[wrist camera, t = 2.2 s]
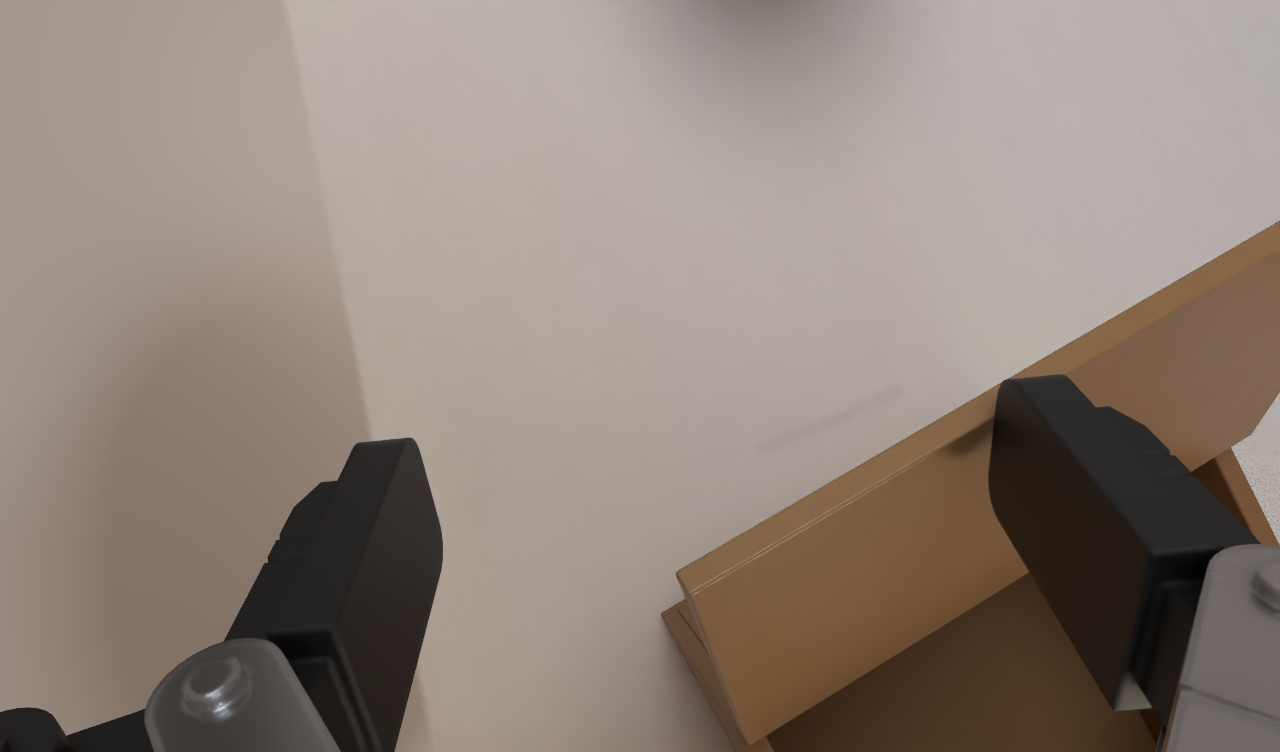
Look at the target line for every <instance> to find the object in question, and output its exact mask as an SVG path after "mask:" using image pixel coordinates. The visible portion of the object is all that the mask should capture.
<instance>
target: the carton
mask: <svg viewBox="0 0 1280 752" xmlns="http://www.w3.org/2000/svg"><path fill="white" fill-rule="evenodd" d="M1190 476H1196V478H1197V479H1198V480H1199V481H1200V482H1201V483H1202V484H1203V485H1204V486H1205V487H1206V488H1207V489H1208V490H1209V491H1210V492H1211V493H1212V494H1213V495H1214V496H1215V497H1216V498H1217V499H1218V500H1219V501H1220V502H1221V503H1222V504H1223V505H1224V506H1225V507H1226V508H1227V509H1228V510H1229V511H1230V512H1231V513H1232V514H1233V515H1234V516H1235V517H1236V518H1237V519H1238V520H1239V521H1240V522H1241V523H1242V524H1243V525H1244V526H1245V527H1246V528H1247V529H1248V530H1249V531H1250V532H1251V533H1252V534H1253V535H1254V536H1255V537H1256V539H1257V540H1258V541H1259V542H1260V543H1261V544H1266V545H1274V546H1280V545H1279V543H1278V541H1277V539H1276V537H1275V535H1274V533H1273V531H1272V529H1271V527H1270V525H1269V523H1268V521H1267V519H1266V517H1265V515H1264V513H1263V511H1262V509H1261V507H1260V505H1259V503H1258V501H1257V499H1256V497H1255V495H1254V493H1253V491H1252V489H1251V487H1250V485H1249V483H1248V481H1247V479H1246V477H1245V475H1244V473H1243V471H1242V469H1241V467H1240V465H1239V463H1238V461H1237V459H1236V457H1235V455H1234V453H1233V451H1232V449H1231V447H1230V448H1229V449H1227V450H1226V451H1224V452H1222V453H1221V454H1219V455H1217V456H1216V457H1214V458H1213V459H1211V460H1209V461H1208V462H1206V463H1205V464H1203V465H1201V466H1200V467H1198V468H1197V469H1195V470H1193V471H1192V472H1190ZM661 615H662V617H663V619H664V621H665V622H666V624H667V626H668V628H669V630H670V632H671V634H672V635H673V637H674V639H675V641H676V643H677V645H678V646H679V648H680V650H681V652H682V654H683V656H684V657H685V659H686V661H687V663H688V665H689V667H690V669H691V670H692V672H693V674H694V676H695V678H696V680H697V681H698V683H699V685H700V687H701V689H702V691H703V692H704V694H705V696H706V698H707V700H708V702H709V704H710V705H711V707H712V709H713V711H714V713H715V715H716V716H717V718H718V720H719V722H720V724H721V726H722V727H723V729H724V731H725V733H726V735H727V737H728V739H729V740H730V742H731V744H732V746H733V748H734V750H735V751H736V752H1155V750H1156V746H1157V742H1158V738H1159V735H1160V731H1161V728H1162V724H1163V723H1162V721H1161V720H1160V718H1159V717H1158V715H1157V714H1156V712H1155V711H1154V709H1153V708H1147V709H1136V710H1124V711H1113V710H1112V708H1111V707H1110V705H1109V703H1108V702H1107V700H1106V698H1105V697H1104V695H1103V693H1102V692H1101V690H1100V689H1099V687H1098V685H1097V684H1096V682H1095V680H1094V679H1093V677H1092V675H1091V674H1090V672H1089V670H1088V669H1087V667H1086V665H1085V664H1084V662H1083V660H1082V659H1081V657H1080V655H1079V654H1078V652H1077V650H1076V649H1075V647H1074V645H1073V644H1072V642H1071V640H1070V639H1069V637H1068V635H1067V634H1066V632H1065V630H1064V629H1063V627H1062V625H1061V624H1060V622H1059V621H1058V619H1057V617H1056V616H1055V614H1054V612H1053V611H1052V609H1051V607H1050V606H1049V604H1048V602H1047V601H1046V599H1045V597H1044V596H1043V594H1042V592H1041V591H1040V589H1039V587H1038V586H1037V584H1036V582H1035V581H1034V579H1033V577H1032V576H1031V574H1030V572H1029V573H1027V574H1026V575H1024V576H1022V577H1021V578H1019V579H1018V580H1016V581H1014V582H1013V583H1011V584H1010V585H1008V586H1006V587H1005V588H1003V589H1001V590H1000V591H998V592H997V593H995V594H993V595H992V596H990V597H989V598H987V599H985V600H984V601H982V602H981V603H979V604H977V605H976V606H974V607H972V608H971V609H969V610H968V611H966V612H964V613H963V614H961V615H960V616H958V617H956V618H955V619H953V620H952V621H950V622H948V623H947V624H945V625H943V626H942V627H940V628H939V629H937V630H935V631H934V632H932V633H931V634H929V635H927V636H926V637H924V638H922V639H921V640H919V641H918V642H916V643H914V644H913V645H911V646H910V647H908V648H906V649H905V650H903V651H902V652H900V653H898V654H897V655H895V656H893V657H892V658H890V659H889V660H887V661H885V662H884V663H882V664H881V665H879V666H877V667H876V668H874V669H873V670H871V671H869V672H868V673H866V674H864V675H863V676H861V677H860V678H858V679H856V680H855V681H853V682H852V683H850V684H848V685H847V686H845V687H844V688H842V689H840V690H839V691H837V692H835V693H834V694H832V695H831V696H829V697H827V698H826V699H824V700H823V701H821V702H819V703H818V704H816V705H814V706H813V707H811V708H810V709H808V710H806V711H805V712H803V713H802V714H800V715H798V716H797V717H795V718H794V719H792V720H790V721H789V722H787V723H785V724H784V725H782V726H781V727H779V728H777V729H776V730H774V731H773V732H771V733H769V734H768V735H766V736H765V737H763V738H761V739H760V740H758V741H756V742H755V743H753V744H752V745H748V744H747V742H746V740H745V738H744V737H743V735H742V733H741V731H740V729H739V727H738V725H737V722H736V720H735V717H734V715H733V712H732V710H731V708H730V705H729V703H728V700H727V698H726V695H725V693H724V690H723V688H722V686H721V683H720V681H719V678H718V676H717V673H716V671H715V669H714V666H713V664H712V661H711V659H710V656H709V654H708V652H707V649H706V647H705V644H704V642H703V639H702V637H701V635H700V632H699V630H698V627H697V625H696V622H695V620H694V618H693V615H692V613H691V610H690V608H689V605H688V603H687V601H686V599H684V600H683V601H681V602H679V603H678V604H676V605H674V606H673V607H671V608H669V609H667V610H666V611H664V612H662V614H661Z"/></svg>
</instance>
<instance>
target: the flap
mask: <svg viewBox="0 0 1280 752" xmlns="http://www.w3.org/2000/svg"><path fill="white" fill-rule="evenodd" d="M1056 374H1063V375H1065V376H1067V377H1068V378H1069V379H1070V380H1071V381H1072V382H1073V383H1074V384H1075V385H1076V386H1077V387H1078V388H1079V389H1080V390H1081V391H1082V393H1083V394H1084V395H1085V396H1086V397H1087V398H1088V399H1089V400H1090V401H1091V402H1092V403H1093V404H1094V406H1095V407H1106V406H1110V407H1111V408H1113V409H1115V410H1117V411H1119V412H1121V413H1123V414H1124V415H1126V416H1128V417H1130V418H1132V419H1134V420H1136V421H1138V422H1139V423H1141V424H1143V425H1145V426H1146V427H1147V428H1148V429H1149V430H1150V431H1151V432H1152V433H1153V434H1154V435H1155V436H1156V437H1157V438H1158V439H1159V440H1160V441H1161V442H1162V443H1163V444H1164V445H1165V446H1166V447H1167V448H1168V449H1169V450H1170V455H1171V456H1172V455H1175V456H1176V457H1177V458H1178V459H1179V460H1180V461H1181V462H1182V463H1183V464H1184V465H1185V466H1186V467H1187V468H1188V469H1189V470H1190V472H1192V471H1193V470H1195V469H1197V468H1198V467H1200V466H1201V465H1203V464H1205V463H1206V462H1208V461H1209V460H1211V459H1213V458H1214V457H1216V456H1217V455H1219V454H1221V453H1222V452H1224V451H1226V450H1227V449H1229V448H1230V447H1232V446H1234V445H1235V444H1237V443H1238V442H1240V441H1242V440H1243V439H1245V438H1247V437H1248V436H1250V435H1251V434H1252V432H1253V431H1254V429H1255V428H1256V426H1257V425H1258V423H1259V422H1260V420H1261V419H1262V418H1263V416H1264V415H1265V413H1266V412H1267V410H1268V409H1269V407H1270V406H1271V404H1272V403H1273V401H1274V400H1275V398H1276V397H1277V395H1278V394H1279V392H1280V221H1278V222H1277V223H1275V224H1273V225H1272V226H1270V227H1268V228H1266V229H1265V230H1263V231H1261V232H1259V233H1258V234H1256V235H1254V236H1253V237H1251V238H1249V239H1247V240H1246V241H1244V242H1242V243H1241V244H1239V245H1237V246H1235V247H1234V248H1232V249H1230V250H1229V251H1227V252H1225V253H1223V254H1222V255H1220V256H1218V257H1217V258H1215V259H1213V260H1211V261H1210V262H1208V263H1206V264H1205V265H1203V266H1201V267H1199V268H1198V269H1196V270H1194V271H1192V272H1191V273H1189V274H1187V275H1186V276H1184V277H1182V278H1180V279H1179V280H1177V281H1175V282H1174V283H1172V284H1170V285H1168V286H1167V287H1165V288H1163V289H1162V290H1160V291H1158V292H1156V293H1155V294H1153V295H1151V296H1150V297H1148V298H1146V299H1144V300H1143V301H1141V302H1139V303H1137V304H1136V305H1134V306H1132V307H1131V308H1129V309H1127V310H1125V311H1124V312H1122V313H1120V314H1119V315H1117V316H1115V317H1113V318H1112V319H1110V320H1108V321H1107V322H1105V323H1103V324H1101V325H1100V326H1098V327H1096V328H1095V329H1093V330H1091V331H1089V332H1088V333H1086V334H1084V335H1083V336H1081V337H1079V338H1077V339H1076V340H1074V341H1072V342H1070V343H1069V344H1067V345H1065V346H1064V347H1062V348H1060V349H1058V350H1057V351H1055V352H1053V353H1052V354H1050V355H1048V356H1046V357H1045V358H1043V359H1041V360H1040V361H1038V362H1036V363H1034V364H1033V365H1031V366H1029V367H1028V368H1026V369H1024V370H1022V371H1021V372H1019V373H1017V374H1015V375H1014V376H1012V377H1010V378H1009V379H1016V378H1026V377H1036V376H1046V375H1056ZM1000 385H1001V383H1000V384H998V385H997V386H995V387H993V388H991V389H990V390H988V391H986V392H985V393H983V394H981V395H979V396H978V397H976V398H974V399H973V400H971V401H969V402H967V403H966V404H964V405H962V406H961V407H959V408H957V409H955V410H954V411H952V412H950V413H948V414H947V415H945V416H943V417H942V418H940V419H938V420H936V421H935V422H933V423H931V424H930V425H928V426H926V427H924V428H923V429H921V430H919V431H918V432H916V433H914V434H912V435H911V436H909V437H907V438H906V439H904V440H902V441H900V442H899V443H897V444H895V445H893V446H892V447H890V448H888V449H887V450H885V451H883V452H881V453H880V454H878V455H876V456H875V457H873V458H871V459H869V460H868V461H866V462H864V463H863V464H861V465H859V466H857V467H856V468H854V469H852V470H851V471H849V472H847V473H845V474H844V475H842V476H840V477H838V478H837V479H835V480H833V481H832V482H830V483H828V484H826V485H825V486H823V487H821V488H820V489H818V490H816V491H814V492H813V493H811V494H809V495H808V496H806V497H804V498H802V499H801V500H799V501H797V502H796V503H794V504H792V505H790V506H789V507H787V508H785V509H784V510H782V511H780V512H778V513H777V514H775V515H773V516H771V517H770V518H768V519H766V520H765V521H763V522H761V523H759V524H758V525H756V526H754V527H753V528H751V529H749V530H747V531H746V532H744V533H742V534H741V535H739V536H737V537H735V538H734V539H732V540H730V541H729V542H727V543H725V544H723V545H722V546H720V547H718V548H716V549H715V550H713V551H711V552H710V553H708V554H706V555H704V556H703V557H701V558H699V559H698V560H696V561H694V562H692V563H691V564H689V565H687V566H686V567H684V568H682V569H680V570H679V571H677V573H676V576H677V579H678V581H679V584H680V586H681V588H682V591H683V593H684V596H685V598H686V601H687V603H688V605H689V608H690V610H691V613H692V615H693V618H694V620H695V622H696V625H697V627H698V630H699V632H700V635H701V637H702V639H703V642H704V644H705V647H706V649H707V652H708V654H709V656H710V659H711V661H712V664H713V666H714V669H715V671H716V673H717V676H718V678H719V681H720V683H721V686H722V688H723V690H724V693H725V695H726V698H727V700H728V703H729V705H730V708H731V710H732V712H733V715H734V717H735V720H736V722H737V725H738V727H739V729H740V731H741V733H742V735H743V737H744V738H745V740H746V742H747V744H748V745H752V744H753V743H755V742H756V741H758V740H760V739H761V738H763V737H765V736H766V735H768V734H769V733H771V732H773V731H774V730H776V729H777V728H779V727H781V726H782V725H784V724H785V723H787V722H789V721H790V720H792V719H794V718H795V717H797V716H798V715H800V714H802V713H803V712H805V711H806V710H808V709H810V708H811V707H813V706H814V705H816V704H818V703H819V702H821V701H823V700H824V699H826V698H827V697H829V696H831V695H832V694H834V693H835V692H837V691H839V690H840V689H842V688H844V687H845V686H847V685H848V684H850V683H852V682H853V681H855V680H856V679H858V678H860V677H861V676H863V675H864V674H866V673H868V672H869V671H871V670H873V669H874V668H876V667H877V666H879V665H881V664H882V663H884V662H885V661H887V660H889V659H890V658H892V657H893V656H895V655H897V654H898V653H900V652H902V651H903V650H905V649H906V648H908V647H910V646H911V645H913V644H914V643H916V642H918V641H919V640H921V639H922V638H924V637H926V636H927V635H929V634H931V633H932V632H934V631H935V630H937V629H939V628H940V627H942V626H943V625H945V624H947V623H948V622H950V621H952V620H953V619H955V618H956V617H958V616H960V615H961V614H963V613H964V612H966V611H968V610H969V609H971V608H972V607H974V606H976V605H977V604H979V603H981V602H982V601H984V600H985V599H987V598H989V597H990V596H992V595H993V594H995V593H997V592H998V591H1000V590H1001V589H1003V588H1005V587H1006V586H1008V585H1010V584H1011V583H1013V582H1014V581H1016V580H1018V579H1019V578H1021V577H1022V576H1024V575H1026V574H1027V573H1029V571H1028V569H1027V567H1026V566H1025V564H1024V562H1023V561H1022V559H1021V557H1020V556H1019V554H1018V553H1017V551H1016V549H1015V548H1014V546H1013V544H1012V543H1011V541H1010V539H1009V538H1008V536H1007V534H1006V533H1005V531H1004V529H1003V528H1002V526H1001V524H1000V523H999V521H998V519H997V517H996V515H995V513H994V510H993V507H992V503H991V499H990V494H989V487H988V470H989V462H990V453H991V444H992V435H993V427H994V418H995V409H996V401H997V394H998V390H999V387H1000Z"/></svg>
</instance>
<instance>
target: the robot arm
mask: <svg viewBox="0 0 1280 752" xmlns="http://www.w3.org/2000/svg"><path fill="white" fill-rule="evenodd" d="M988 487H989V494H990V499H991V503H992V507H993V510H994V513H995V515H996V517H997V519H998V521H999V523H1000V524H1001V526H1002V528H1003V529H1004V531H1005V533H1006V534H1007V536H1008V538H1009V539H1010V541H1011V543H1012V544H1013V546H1014V548H1015V549H1016V551H1017V553H1018V554H1019V556H1020V557H1021V559H1022V561H1023V562H1024V564H1025V566H1026V567H1027V569H1028V571H1029V572H1030V574H1031V576H1032V577H1033V579H1034V581H1035V582H1036V584H1037V586H1038V587H1039V589H1040V591H1041V592H1042V594H1043V596H1044V597H1045V599H1046V601H1047V602H1048V604H1049V606H1050V607H1051V609H1052V611H1053V612H1054V614H1055V616H1056V617H1057V619H1058V621H1059V622H1060V624H1061V625H1062V627H1063V629H1064V630H1065V632H1066V634H1067V635H1068V637H1069V639H1070V640H1071V642H1072V644H1073V645H1074V647H1075V649H1076V650H1077V652H1078V654H1079V655H1080V657H1081V659H1082V660H1083V662H1084V664H1085V665H1086V667H1087V669H1088V670H1089V672H1090V674H1091V675H1092V677H1093V679H1094V680H1095V682H1096V684H1097V685H1098V687H1099V689H1100V690H1101V692H1102V693H1103V695H1104V697H1105V698H1106V700H1107V702H1108V703H1109V705H1110V707H1111V708H1112V710H1113V711H1124V710H1136V709H1147V708H1153V709H1154V711H1155V712H1156V714H1157V715H1158V717H1159V718H1160V720H1161V721H1162V723H1163V724H1162V728H1161V731H1160V735H1159V738H1158V742H1157V746H1156V750H1155V752H1280V546H1274V545H1266V544H1261V543H1260V542H1259V541H1258V540H1257V539H1256V537H1255V536H1254V535H1253V534H1252V533H1251V532H1250V531H1249V530H1248V529H1247V528H1246V527H1245V526H1244V525H1243V524H1242V523H1241V522H1240V521H1239V520H1238V519H1237V518H1236V517H1235V516H1234V515H1233V514H1232V513H1231V512H1230V511H1229V510H1228V509H1227V508H1226V507H1225V506H1224V505H1223V504H1222V503H1221V502H1220V501H1219V500H1218V499H1217V498H1216V497H1215V496H1214V495H1213V494H1212V493H1211V492H1210V491H1209V490H1208V489H1207V488H1206V487H1205V486H1204V485H1203V484H1202V483H1201V482H1200V481H1199V480H1198V479H1197V478H1196V476H1190V470H1189V469H1188V468H1187V467H1186V466H1185V465H1184V464H1183V463H1182V462H1181V461H1180V460H1179V459H1178V458H1177V457H1176V456H1175V455H1172V456H1171V455H1170V450H1169V449H1168V448H1167V447H1166V446H1165V445H1164V444H1163V443H1162V442H1161V441H1160V440H1159V439H1158V438H1157V437H1156V436H1155V435H1154V434H1153V433H1152V432H1151V431H1150V430H1149V429H1148V428H1147V427H1146V426H1145V425H1143V424H1141V423H1139V422H1138V421H1136V420H1134V419H1132V418H1130V417H1128V416H1126V415H1124V414H1123V413H1121V412H1119V411H1117V410H1115V409H1113V408H1111V407H1110V406H1106V407H1095V406H1094V404H1093V403H1092V402H1091V401H1090V400H1089V399H1088V398H1087V397H1086V396H1085V395H1084V394H1083V393H1082V391H1081V390H1080V389H1079V388H1078V387H1077V386H1076V385H1075V384H1074V383H1073V382H1072V381H1071V380H1070V379H1069V378H1068V377H1067V376H1065V375H1063V374H1056V375H1046V376H1036V377H1026V378H1016V379H1007V380H1004V381H1003V382H1002V383H1001V385H1000V387H999V390H998V394H997V401H996V409H995V418H994V427H993V435H992V444H991V453H990V462H989V470H988ZM442 561H443V542H442V533H441V527H440V523H439V519H438V516H437V512H436V508H435V505H434V501H433V497H432V494H431V490H430V486H429V483H428V479H427V476H426V472H425V468H424V465H423V461H422V457H421V454H420V451H419V448H418V445H417V443H416V442H415V440H414V439H412V438H401V439H391V440H381V441H371V442H361V443H357V444H356V445H355V446H354V447H353V449H352V451H351V453H350V456H349V458H348V460H347V462H346V464H345V466H344V468H343V470H342V472H341V475H340V477H339V479H338V481H330V482H322V483H320V484H319V485H318V486H317V487H316V488H314V489H313V490H312V491H311V492H310V493H309V494H308V495H307V496H306V497H305V498H304V499H302V500H301V501H300V502H299V503H298V504H297V505H296V506H295V507H294V508H293V510H292V512H291V514H290V516H289V517H288V519H287V521H286V523H285V525H284V527H283V529H282V531H281V533H280V540H276V542H275V544H274V546H273V548H272V550H271V552H270V554H269V556H268V563H265V564H264V565H263V567H262V569H261V571H260V573H259V575H258V577H257V579H256V581H255V582H254V584H253V586H252V588H251V590H250V592H249V594H248V596H247V598H246V600H245V602H244V604H243V605H242V607H241V609H240V611H239V613H238V615H237V617H236V619H235V621H234V623H233V625H232V626H231V628H230V630H229V632H228V634H227V636H226V638H225V640H224V642H221V643H218V644H215V645H213V646H210V647H208V648H206V649H203V650H201V651H199V652H197V653H196V654H194V655H192V656H191V657H189V658H187V659H186V660H185V661H183V662H182V663H180V664H179V665H178V666H176V667H175V668H174V669H173V670H172V671H171V672H169V673H168V674H167V675H166V676H165V678H164V679H163V680H162V681H161V682H160V683H159V685H158V686H157V687H156V688H155V690H154V691H153V693H152V695H151V697H150V698H149V700H148V703H147V706H146V708H145V709H143V710H140V711H138V712H135V713H132V714H129V715H126V716H123V717H121V718H117V719H114V720H111V721H108V722H105V723H102V724H100V725H97V726H94V727H91V728H88V729H85V730H82V731H79V732H76V733H73V734H70V735H67V736H66V735H65V733H64V731H63V730H62V729H61V727H60V725H59V724H58V722H57V721H56V719H55V718H54V717H53V715H52V714H50V713H48V712H47V711H44V710H41V709H38V708H16V709H11V710H6V711H3V712H0V752H394V751H395V747H396V743H397V740H398V736H399V732H400V728H401V724H402V720H403V716H404V712H405V708H406V705H407V701H408V697H409V693H410V689H411V685H412V682H413V678H414V674H415V670H416V666H417V662H418V658H419V654H420V651H421V647H422V643H423V639H424V635H425V631H426V627H427V623H428V620H429V616H430V612H431V608H432V604H433V600H434V596H435V592H436V589H437V585H438V581H439V577H440V573H441V568H442Z"/></svg>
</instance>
